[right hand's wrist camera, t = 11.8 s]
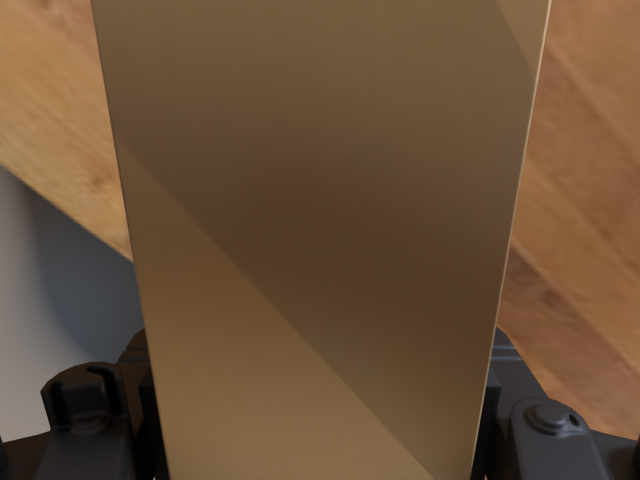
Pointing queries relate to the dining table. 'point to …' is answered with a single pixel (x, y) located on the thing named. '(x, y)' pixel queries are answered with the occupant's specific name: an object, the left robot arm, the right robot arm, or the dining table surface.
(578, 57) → the dining table surface
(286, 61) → the beam
